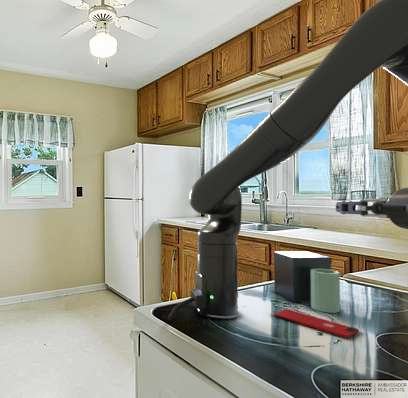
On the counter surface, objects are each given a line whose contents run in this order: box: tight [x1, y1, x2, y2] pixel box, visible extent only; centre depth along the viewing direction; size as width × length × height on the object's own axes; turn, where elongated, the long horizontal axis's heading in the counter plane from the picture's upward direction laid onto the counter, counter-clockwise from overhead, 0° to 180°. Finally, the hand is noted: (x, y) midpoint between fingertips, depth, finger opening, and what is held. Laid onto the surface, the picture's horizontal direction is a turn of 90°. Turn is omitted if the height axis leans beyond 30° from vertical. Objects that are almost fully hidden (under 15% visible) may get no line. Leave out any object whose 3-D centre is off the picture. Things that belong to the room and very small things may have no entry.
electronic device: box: [273, 308, 360, 339], centre depth 71 cm, size 6×1×15 cm
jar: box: [310, 269, 341, 314], centre depth 81 cm, size 6×6×10 cm
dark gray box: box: [273, 251, 333, 303], centre depth 91 cm, size 12×10×12 cm
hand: (357, 206), depth 70 cm, fingers open, 8 cm apart
